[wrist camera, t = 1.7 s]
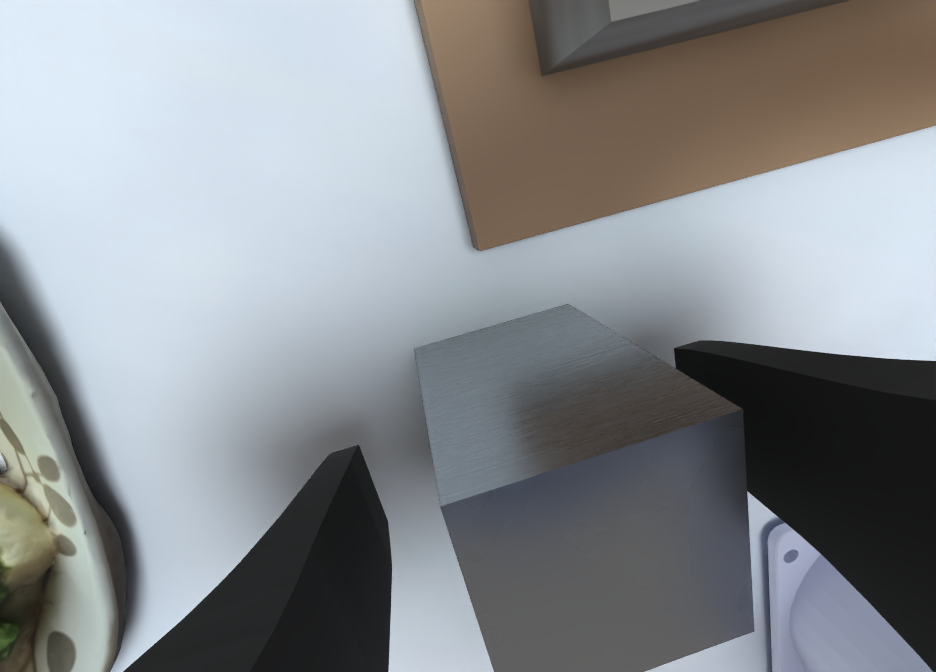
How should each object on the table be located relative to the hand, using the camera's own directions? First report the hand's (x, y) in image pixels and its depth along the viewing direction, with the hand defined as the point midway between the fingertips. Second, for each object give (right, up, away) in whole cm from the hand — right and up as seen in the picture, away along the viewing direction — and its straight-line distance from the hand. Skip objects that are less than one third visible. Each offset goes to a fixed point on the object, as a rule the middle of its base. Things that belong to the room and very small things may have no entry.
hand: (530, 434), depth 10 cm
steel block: (0, +1, +2) cm, 2 cm away
